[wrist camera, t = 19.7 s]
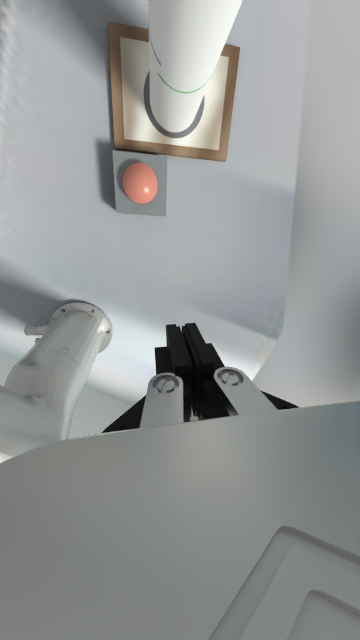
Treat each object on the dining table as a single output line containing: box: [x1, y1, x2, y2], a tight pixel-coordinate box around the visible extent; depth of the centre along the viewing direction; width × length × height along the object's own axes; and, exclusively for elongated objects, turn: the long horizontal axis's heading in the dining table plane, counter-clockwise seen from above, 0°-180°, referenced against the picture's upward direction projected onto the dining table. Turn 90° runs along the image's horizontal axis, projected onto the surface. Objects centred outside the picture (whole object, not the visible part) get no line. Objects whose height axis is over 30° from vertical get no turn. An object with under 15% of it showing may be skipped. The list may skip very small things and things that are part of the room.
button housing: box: [112, 150, 167, 216], centre depth 34 cm, size 8×8×4 cm
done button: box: [123, 163, 158, 204], centre depth 33 cm, size 5×5×4 cm
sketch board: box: [108, 22, 240, 162], centre depth 31 cm, size 18×13×1 cm
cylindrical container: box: [148, 0, 243, 132], centre depth 19 cm, size 7×7×25 cm
